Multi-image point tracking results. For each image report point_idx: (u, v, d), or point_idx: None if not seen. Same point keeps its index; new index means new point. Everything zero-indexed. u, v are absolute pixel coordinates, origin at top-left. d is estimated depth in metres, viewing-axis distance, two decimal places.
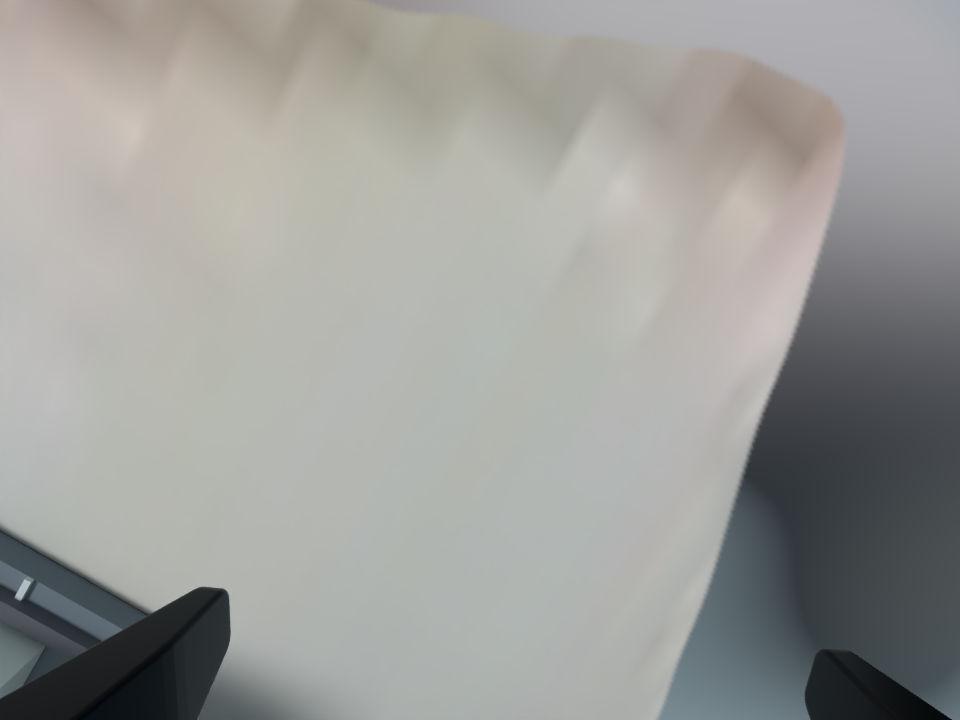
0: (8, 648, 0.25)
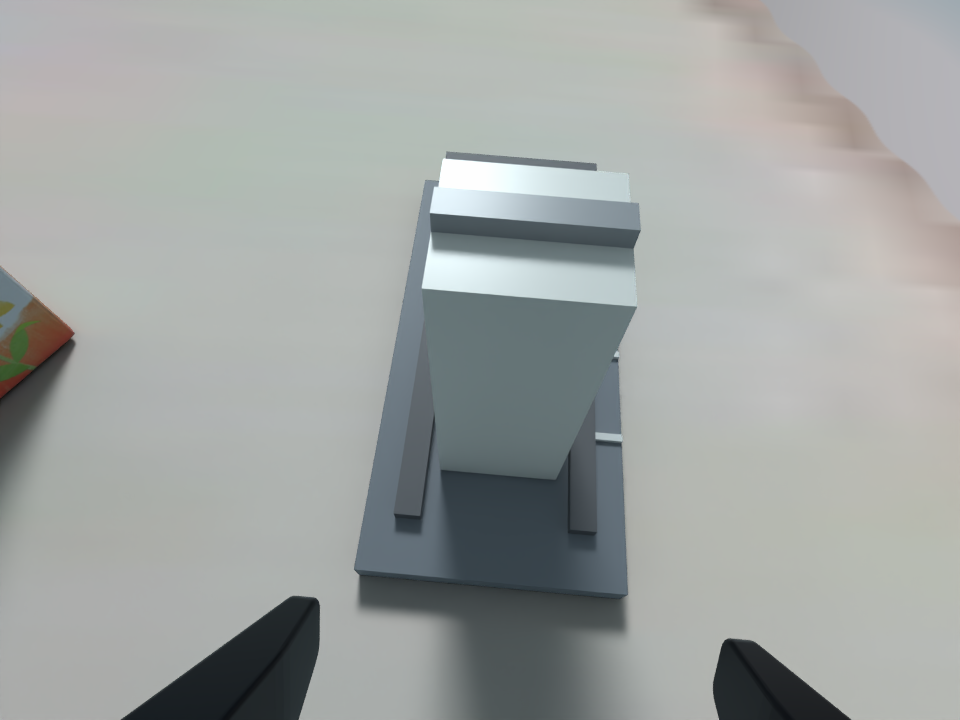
0: None
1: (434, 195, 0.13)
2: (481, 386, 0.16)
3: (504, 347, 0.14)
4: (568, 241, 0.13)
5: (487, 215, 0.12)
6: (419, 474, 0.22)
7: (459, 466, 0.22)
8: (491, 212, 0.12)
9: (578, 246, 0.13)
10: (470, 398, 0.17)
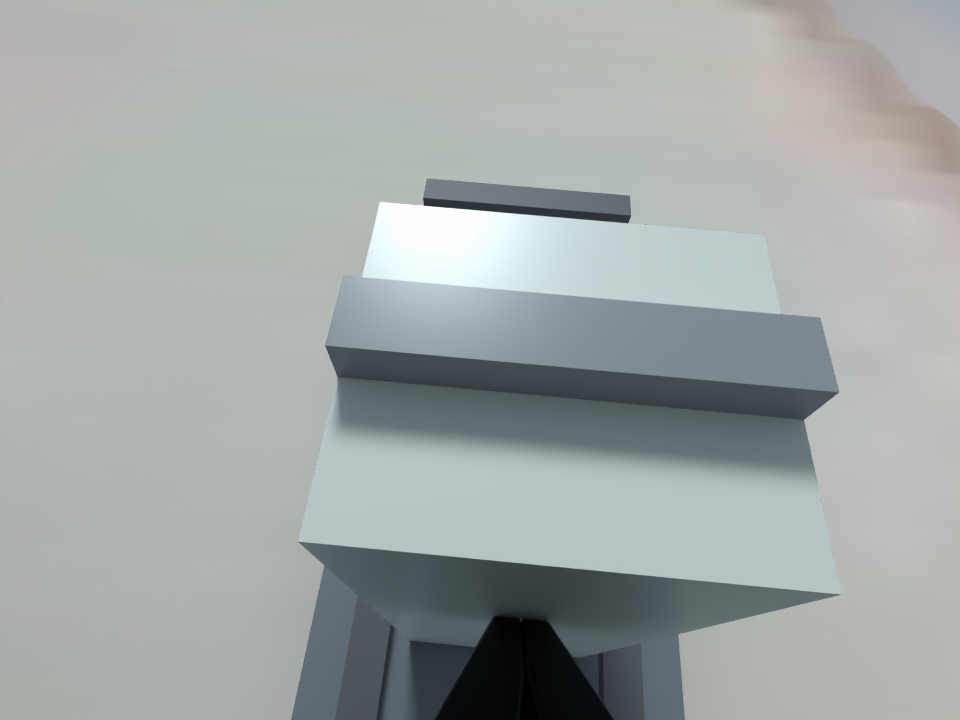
0: None
1: (341, 298, 0.05)
2: (462, 614, 0.09)
3: (504, 597, 0.07)
4: (652, 400, 0.06)
5: (465, 350, 0.05)
6: (372, 682, 0.14)
7: (437, 641, 0.15)
8: (474, 343, 0.05)
9: (677, 415, 0.06)
10: (442, 618, 0.09)
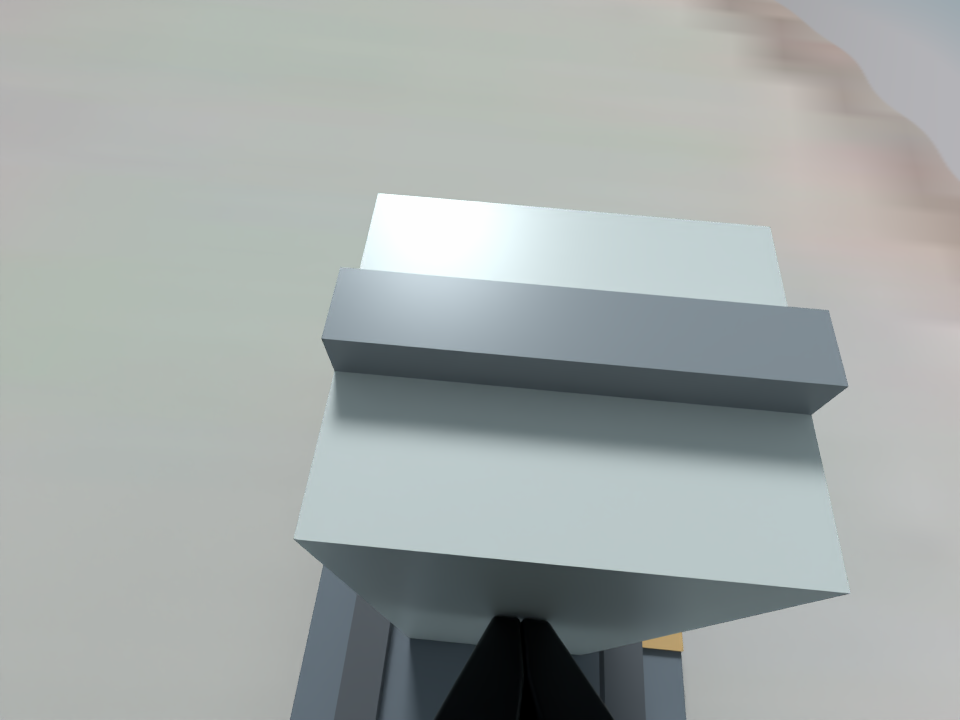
0: None
1: (338, 290, 0.05)
2: (463, 612, 0.08)
3: (505, 596, 0.07)
4: (657, 396, 0.05)
5: (465, 343, 0.05)
6: None
7: (436, 639, 0.15)
8: (475, 336, 0.05)
9: (683, 409, 0.05)
10: (443, 616, 0.09)
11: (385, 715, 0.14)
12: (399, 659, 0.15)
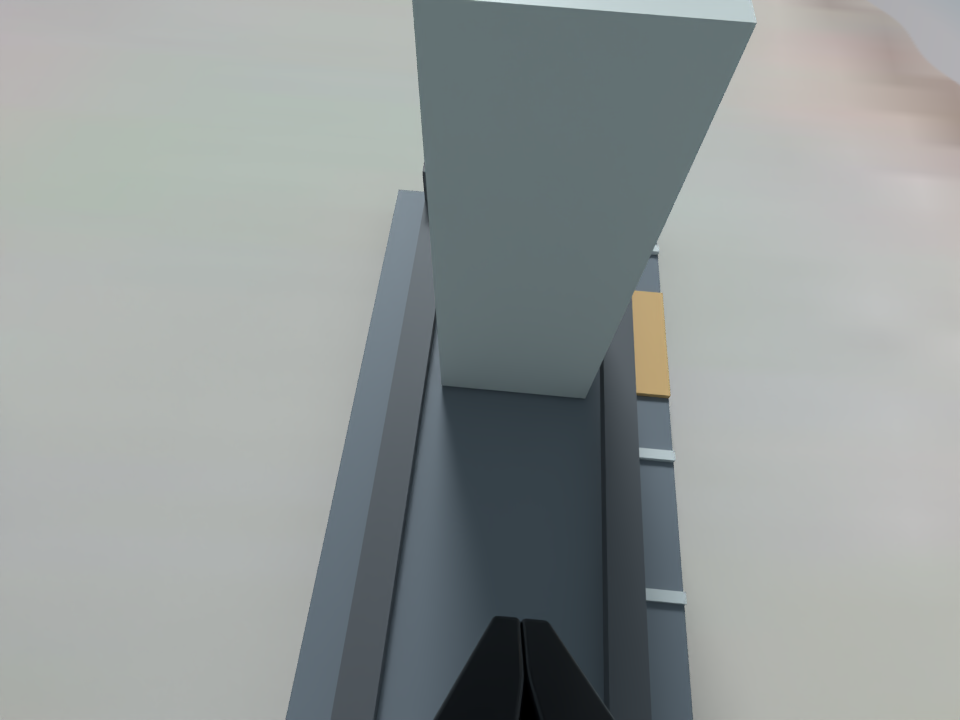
0: None
1: None
2: (499, 226, 0.11)
3: (536, 139, 0.09)
4: None
5: None
6: (371, 669, 0.14)
7: (465, 379, 0.18)
8: None
9: None
10: (482, 252, 0.12)
11: (423, 438, 0.17)
12: (433, 401, 0.18)
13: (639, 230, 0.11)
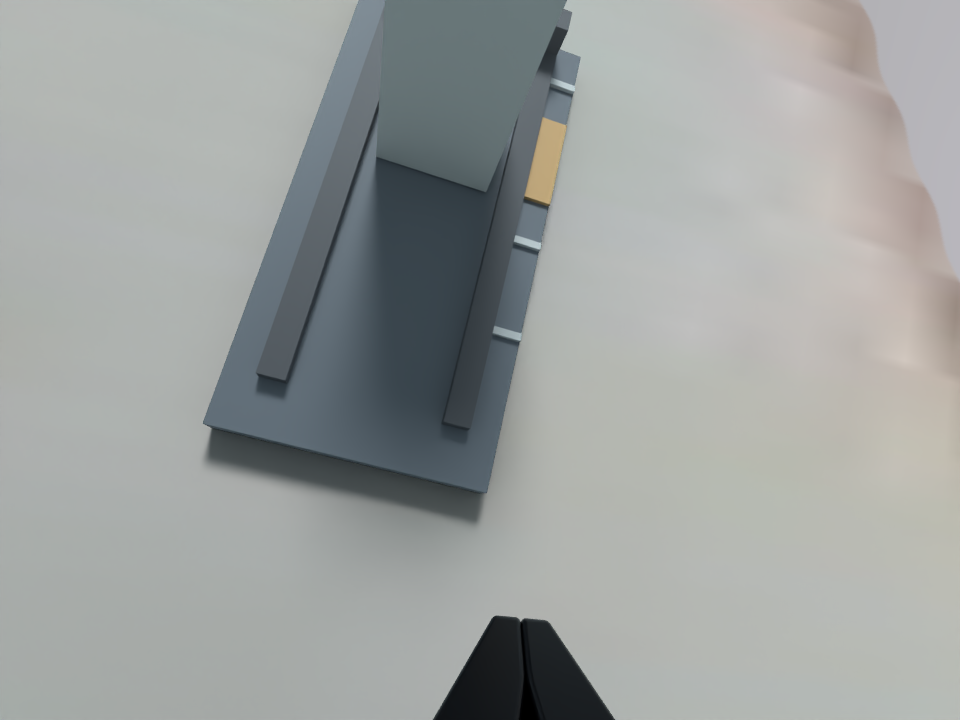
0: None
1: None
2: (436, 11, 0.16)
3: None
4: None
5: None
6: (293, 335, 0.20)
7: (395, 153, 0.22)
8: None
9: None
10: (421, 33, 0.16)
11: (355, 193, 0.22)
12: (367, 167, 0.23)
13: (533, 40, 0.16)
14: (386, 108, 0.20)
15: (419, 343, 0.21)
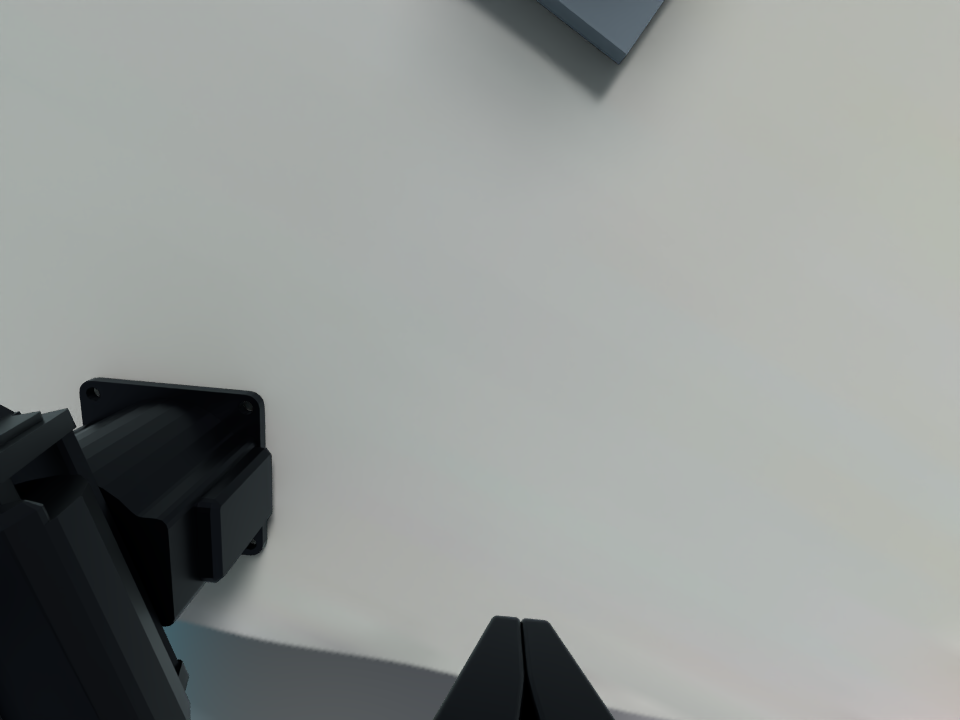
0: None
1: None
2: None
3: None
4: None
5: None
6: None
7: None
8: None
9: None
10: None
11: None
12: None
13: None
14: None
15: None
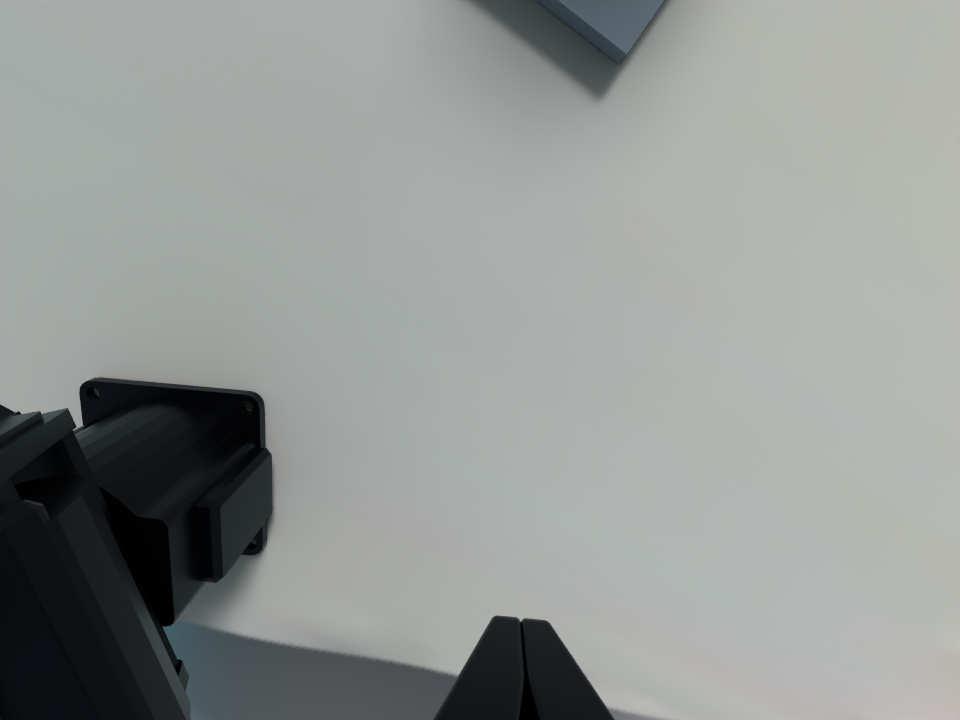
0: None
1: None
2: None
3: None
4: None
5: None
6: None
7: None
8: None
9: None
10: None
11: None
12: None
13: None
14: None
15: None
